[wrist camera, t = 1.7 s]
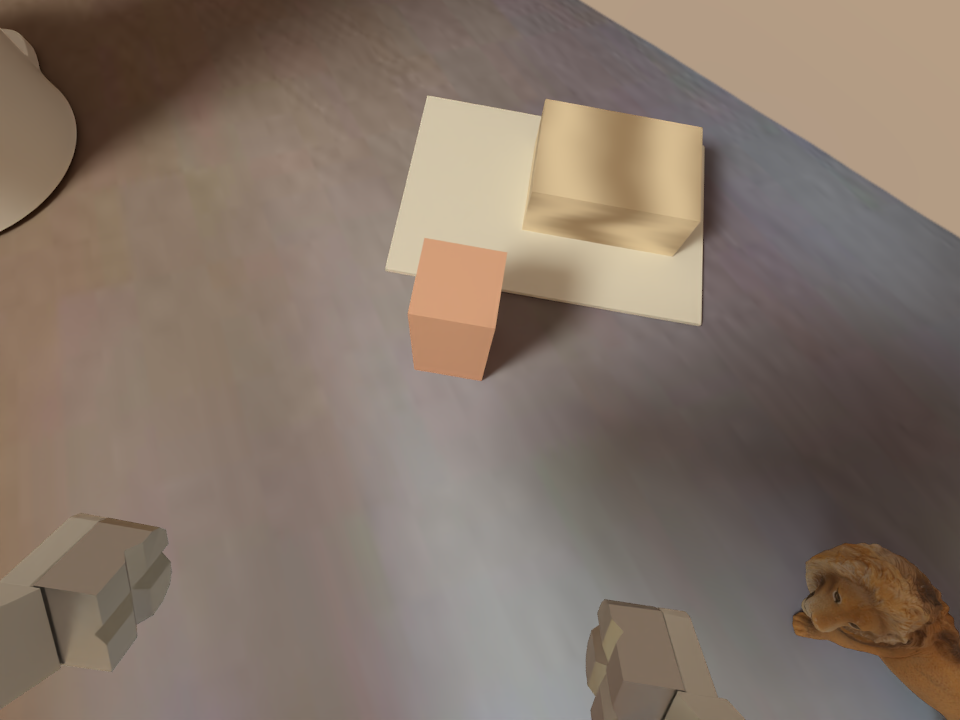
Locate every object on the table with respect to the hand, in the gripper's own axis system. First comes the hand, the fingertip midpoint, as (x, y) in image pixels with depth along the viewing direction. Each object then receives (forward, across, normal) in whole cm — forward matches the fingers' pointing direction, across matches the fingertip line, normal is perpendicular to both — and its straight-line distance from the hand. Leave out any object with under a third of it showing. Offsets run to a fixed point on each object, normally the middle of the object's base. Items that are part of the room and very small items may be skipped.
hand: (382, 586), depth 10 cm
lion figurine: (+14, -23, +15) cm, 30 cm away
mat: (+30, -5, -3) cm, 31 cm away
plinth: (+31, -8, -4) cm, 32 cm away
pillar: (+23, 0, +5) cm, 23 cm away
